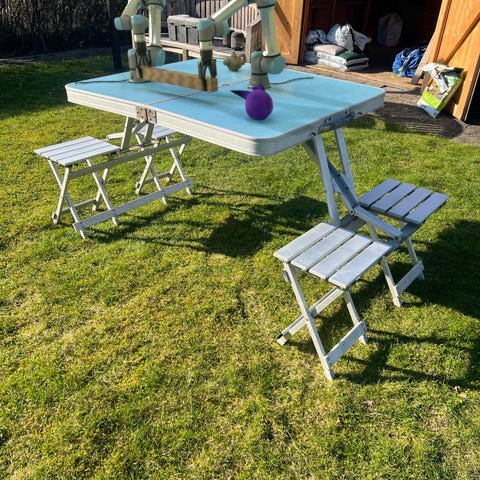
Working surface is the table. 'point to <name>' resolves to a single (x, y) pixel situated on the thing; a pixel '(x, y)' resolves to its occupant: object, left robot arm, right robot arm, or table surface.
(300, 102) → the table surface
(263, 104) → the toy
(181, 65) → the table surface
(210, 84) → the block
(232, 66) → the teapot
